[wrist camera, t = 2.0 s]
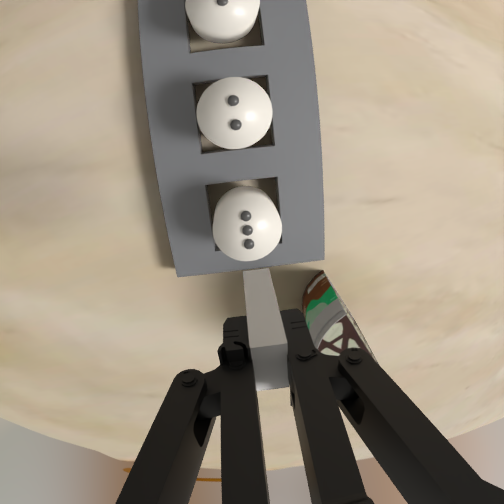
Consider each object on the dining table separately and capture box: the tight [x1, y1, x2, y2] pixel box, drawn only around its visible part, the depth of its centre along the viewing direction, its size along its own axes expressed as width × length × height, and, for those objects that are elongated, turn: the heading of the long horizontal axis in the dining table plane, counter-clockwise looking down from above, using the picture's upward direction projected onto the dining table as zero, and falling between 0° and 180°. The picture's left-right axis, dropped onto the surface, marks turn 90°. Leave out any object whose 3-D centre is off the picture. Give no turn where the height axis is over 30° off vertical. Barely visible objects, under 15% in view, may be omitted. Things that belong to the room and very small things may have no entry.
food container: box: [302, 271, 379, 365], centre depth 34 cm, size 12×6×10 cm, turn 35°
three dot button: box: [213, 186, 282, 261], centre depth 29 cm, size 6×6×4 cm
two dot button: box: [197, 77, 272, 149], centre depth 25 cm, size 6×6×4 cm
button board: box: [138, 0, 324, 277], centre depth 28 cm, size 32×16×2 cm, turn 6°
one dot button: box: [185, 0, 260, 43], centre depth 20 cm, size 6×6×4 cm
